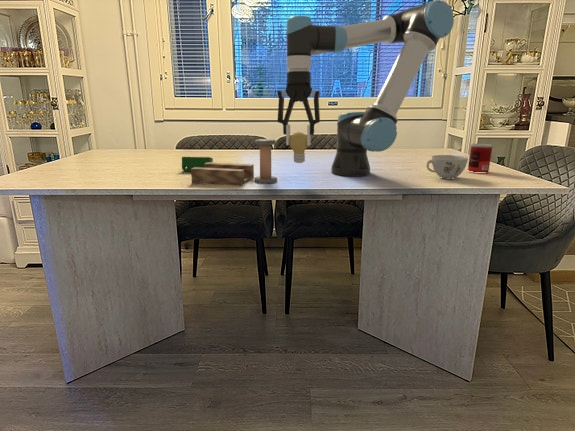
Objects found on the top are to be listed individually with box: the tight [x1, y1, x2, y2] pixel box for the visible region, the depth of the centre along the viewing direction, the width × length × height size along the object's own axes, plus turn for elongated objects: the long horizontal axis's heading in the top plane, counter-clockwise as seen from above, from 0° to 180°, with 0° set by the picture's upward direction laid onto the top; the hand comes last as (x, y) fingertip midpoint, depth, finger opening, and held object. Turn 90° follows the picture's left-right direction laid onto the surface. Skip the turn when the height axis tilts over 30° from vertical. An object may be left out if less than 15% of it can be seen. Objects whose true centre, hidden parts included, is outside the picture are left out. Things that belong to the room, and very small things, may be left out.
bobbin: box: [253, 138, 278, 185], centre depth 140 cm, size 8×8×14 cm
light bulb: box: [289, 131, 308, 164], centre depth 134 cm, size 6×6×10 cm
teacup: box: [426, 154, 469, 179], centre depth 149 cm, size 15×12×8 cm
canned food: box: [467, 143, 493, 173], centre depth 161 cm, size 8×8×11 cm
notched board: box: [190, 162, 255, 187], centre depth 143 cm, size 18×14×5 cm
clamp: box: [181, 156, 214, 172], centre depth 161 cm, size 12×6×9 cm, turn 80°
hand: (298, 144), depth 133 cm, fingers closed on light bulb, 6 cm apart
